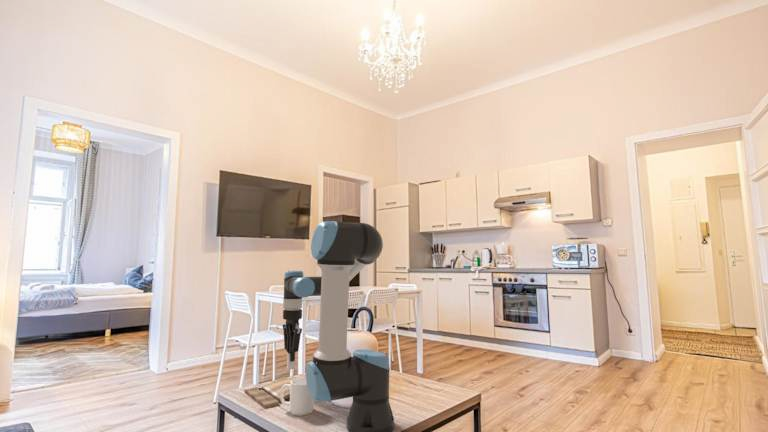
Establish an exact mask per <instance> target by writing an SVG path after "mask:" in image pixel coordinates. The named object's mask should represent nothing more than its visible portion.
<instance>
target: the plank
mask: <svg viewBox="0 0 768 432" xmlns="http://www.w3.org/2000/svg"><path fill="white" fill-rule="evenodd" d="M291 380H292V379H290V378H288V377H286V376H282V377H281V378H279V379H277V380H275V381H273V382H271V383H269V384H267V385H262V386H261V389H262V388H263V389H265V390H266V392H267V393H268V394H269V395H271V396H272V397H274V398H275V399H276V400H278V401H279V403H281V400H280V391H281V388H282V386H283V385H285V384H290V381H291ZM288 398H290V388H285V389H284V392H283V399H284V400H286V399H288Z"/></svg>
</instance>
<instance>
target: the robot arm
mask: <svg viewBox="0 0 768 432" xmlns="http://www.w3.org/2000/svg"><path fill="white" fill-rule="evenodd" d="M383 244H384V243H383V238H382V235H381V234H380V232H379V231H378V229H377V228H376V227H374V225H373V226H372V225H371V224H368V223H365V222H351V221H350V222H349V221H337V220H332V221H331V220H330V221H321V222H320V223H318V224H317V226H316V228H315V230H314V231H313V234H312V238H311V244H310V250H311V256H312V258H313V259H315V260H317V262H316V264H317V266H318V267H319V268H320V269H321V276H304V271H302V270H285V272H284V278H283V299H282V300H283V303H282V308H283V311H282V318H283V320H284V321H285V323H284V324H282V330H283V345H284V346H283V347H284V350H286V370H287V371H291V370H295V368H296V367H295V366H296V365H295V364H296V353H297V352H299V348H300V347H299V346H300V340H301V334H302V332H303V329H302V328H300V327H299V326H300V323H299V320H301V319H302V318H303V310H302V309H303V302H304V300H303V298H309V297H320V304H319V305H320V306H319V329H318V331H319V332H318V348H317V349H316V350H315V351H314V352H313V355H312V360H311V361H309V362H307V363H306V366H305V371H304V372H305V378H306V382H307V387H308V390H309V393H310V395H311V397H312V398H313V400H314V401H315V402H317V403H325V402H328V403H329V402H332V401H337V400H342V399H349V398H352V403H351V405H350V409H349V412H348V416H347V418H346V429H347V431H348V432H392V431H394V428H395V418H394V414H393V410H392V407H391V403H390V370H391V369H390V357H389V356H388V355H387V354H386V353H384V352H380V351H376V350H371V349H357V350H356V349H355V350H353V353H351V352H350V350H349V349H348V348H347V347H348V346H347V344H348V322H349V321H348V320H349V319H348V318H349V295H350V293H349V291H350V282H351V281H352V280H353V278H355V277H356V275H358V274H359V273H360V272H361V271H362V270H363V269H364V268H365V267H366V266H367V265H372V264H373V263H374V262H376V261H377V260H378V258H379V257H380V256H381V254H382V251H383V246H384V245H383ZM352 355H353V356H352Z"/></svg>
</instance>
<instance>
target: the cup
mask: <svg viewBox="0 0 768 432" xmlns="http://www.w3.org/2000/svg"><path fill="white" fill-rule="evenodd" d="M290 380H291V381H290V384H285V385H283V386H282V388H281V391H280V400H281V401H280V403H281V404H283V405H284V406H286V407H289V408H288V409H289V413H290V414H291V415H293V416H298V417H299V416H307V415H310V414H312V413H313V411H314V408H315V405H314V403H315V402H314V401H315V400H313V398H312V397H311V395H310V393H309V390H308V387H307V382H306V377H297V378H293V379H290ZM285 388H290V397H289V401H286V400H285V399H283V392H284V389H285Z"/></svg>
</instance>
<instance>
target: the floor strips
mask: <svg viewBox="0 0 768 432" xmlns="http://www.w3.org/2000/svg"><path fill="white" fill-rule="evenodd" d="M258 387H259V386H256V387H255V386H254V387H251V388H246V389H244V393H245V395H247V396H248V397H250V398H251V399H252V400H253V401H255V402H256V403H257V404H259V405H260V406H261V407H262V408H263V409H267V408H270V407H275V406H279V405H280V402H279V401H278V400H276V399H275V398H274V397H272V396H271V395H269V394H268V393H267V392H265V391H264V390H262V391H261V390H259V389H257V388H258Z"/></svg>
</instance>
